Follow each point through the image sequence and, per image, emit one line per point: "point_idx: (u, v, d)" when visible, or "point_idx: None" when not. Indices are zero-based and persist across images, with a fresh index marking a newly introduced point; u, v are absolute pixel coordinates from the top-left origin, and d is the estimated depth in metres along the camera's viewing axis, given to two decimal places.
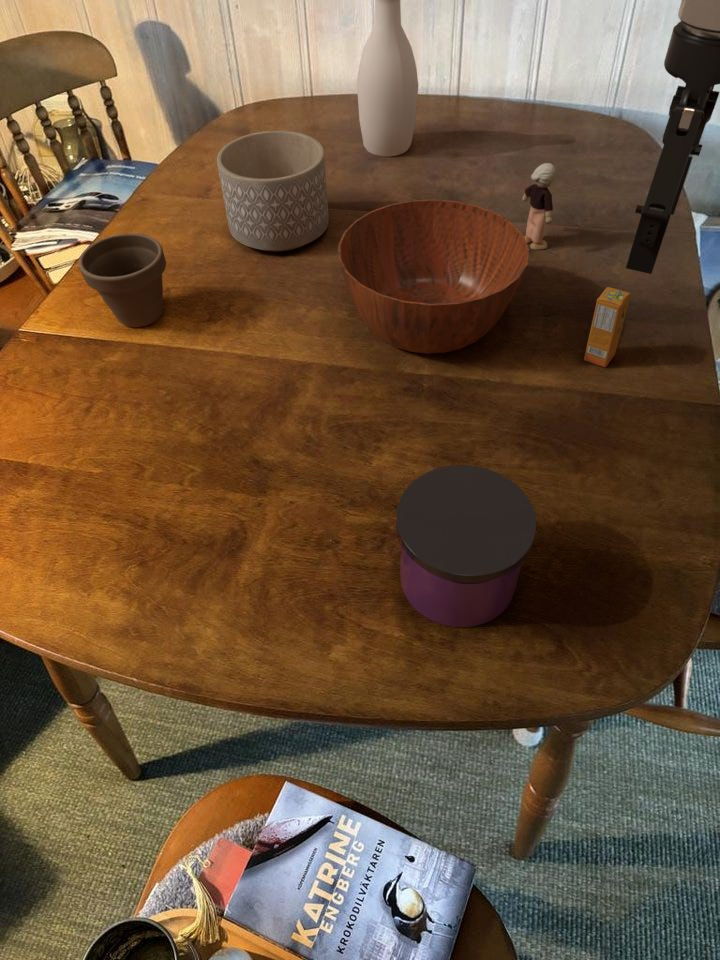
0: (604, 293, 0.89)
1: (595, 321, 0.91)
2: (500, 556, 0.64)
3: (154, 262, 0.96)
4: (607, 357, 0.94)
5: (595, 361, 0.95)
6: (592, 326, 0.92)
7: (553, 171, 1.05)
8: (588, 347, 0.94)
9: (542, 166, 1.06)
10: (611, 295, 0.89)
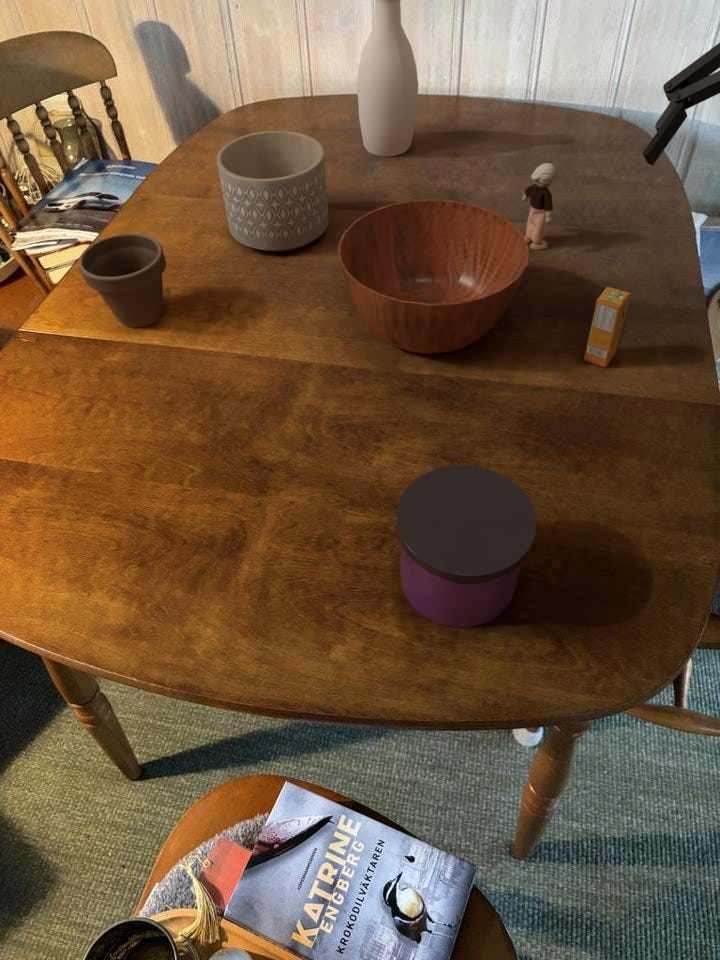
0: (604, 293, 0.89)
1: (595, 321, 0.91)
2: (500, 556, 0.64)
3: (154, 262, 0.96)
4: (607, 357, 0.94)
5: (595, 361, 0.95)
6: (592, 326, 0.92)
7: (553, 171, 1.05)
8: (588, 347, 0.94)
9: (542, 166, 1.06)
10: (611, 295, 0.89)
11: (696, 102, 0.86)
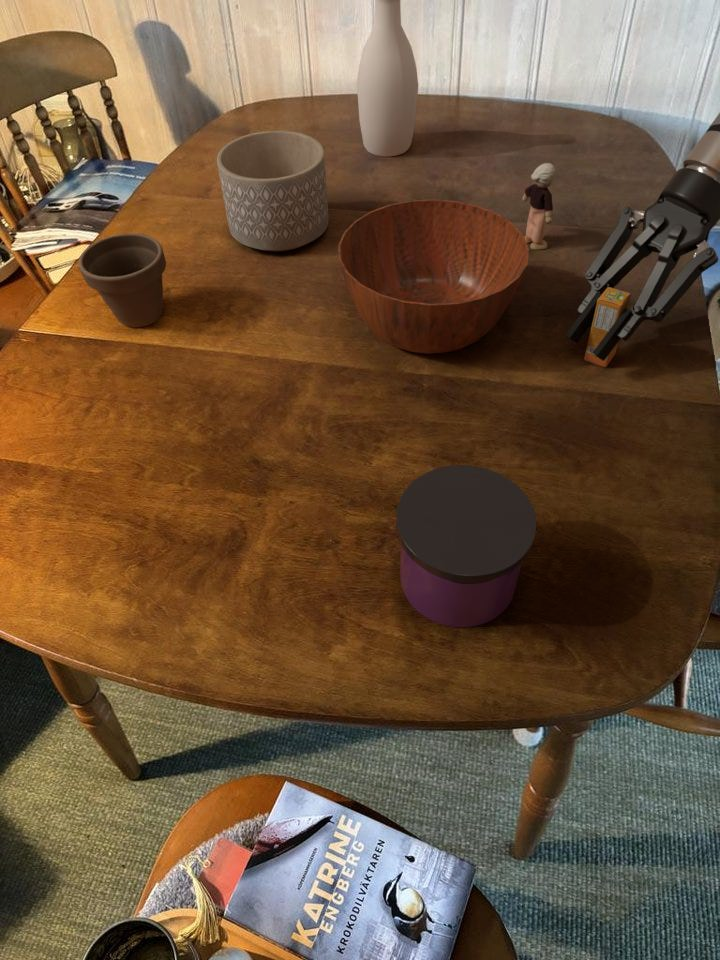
0: (604, 294, 0.89)
1: (595, 321, 0.91)
2: (500, 556, 0.64)
3: (154, 262, 0.96)
4: (607, 357, 0.94)
5: (596, 361, 0.95)
6: (592, 326, 0.92)
7: (553, 171, 1.05)
8: (588, 347, 0.94)
9: (542, 166, 1.06)
10: (611, 295, 0.89)
11: (615, 284, 0.92)
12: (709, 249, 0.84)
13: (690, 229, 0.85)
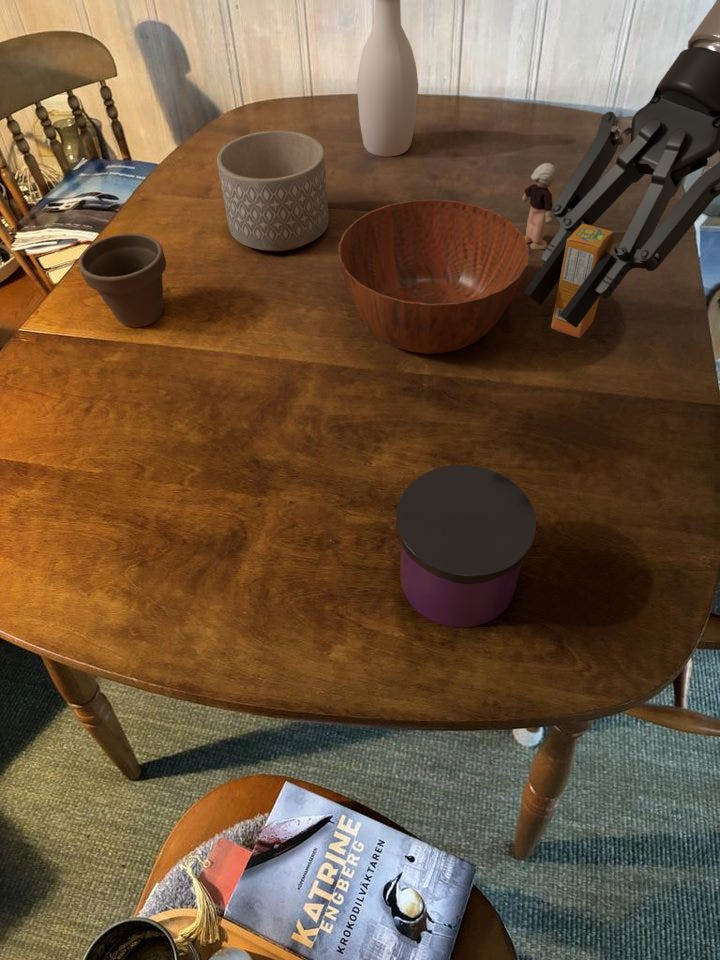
0: (577, 232, 0.64)
1: (565, 272, 0.66)
2: (500, 556, 0.64)
3: (154, 262, 0.96)
4: (582, 323, 0.68)
5: (566, 330, 0.70)
6: (561, 279, 0.66)
7: (553, 171, 1.05)
8: (556, 310, 0.69)
9: (542, 166, 1.06)
10: (587, 234, 0.63)
11: (593, 221, 0.66)
12: None
13: (697, 136, 0.60)
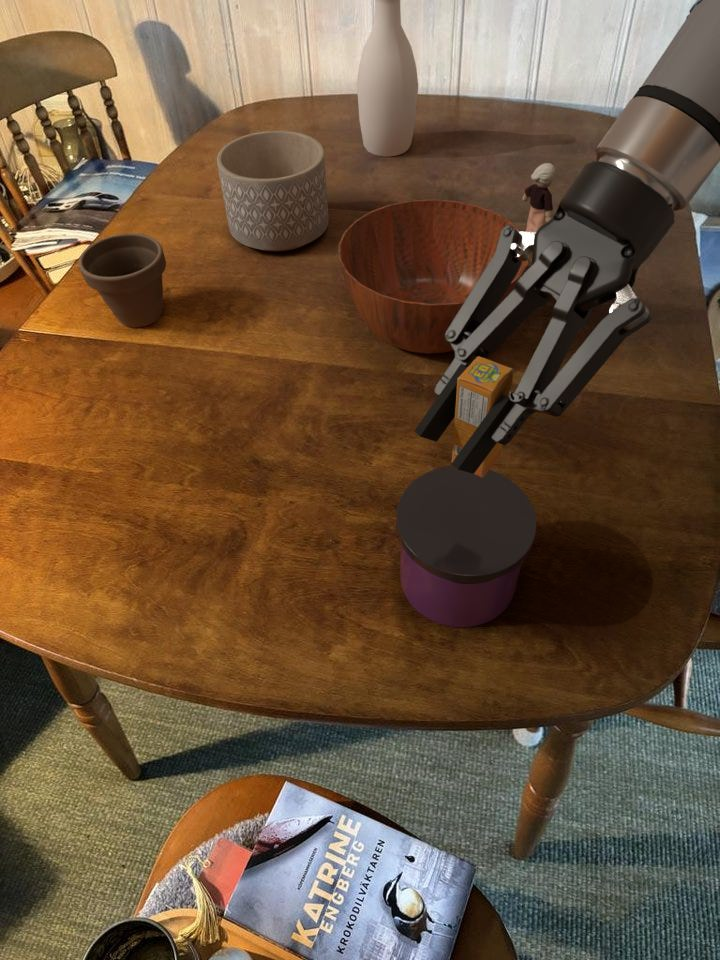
0: (470, 369, 0.54)
1: (459, 411, 0.56)
2: (500, 556, 0.64)
3: (154, 262, 0.96)
4: (483, 464, 0.59)
5: None
6: (456, 417, 0.57)
7: (553, 171, 1.05)
8: (455, 447, 0.59)
9: (542, 166, 1.06)
10: (481, 372, 0.54)
11: (493, 349, 0.57)
12: (634, 301, 0.49)
13: (604, 265, 0.50)
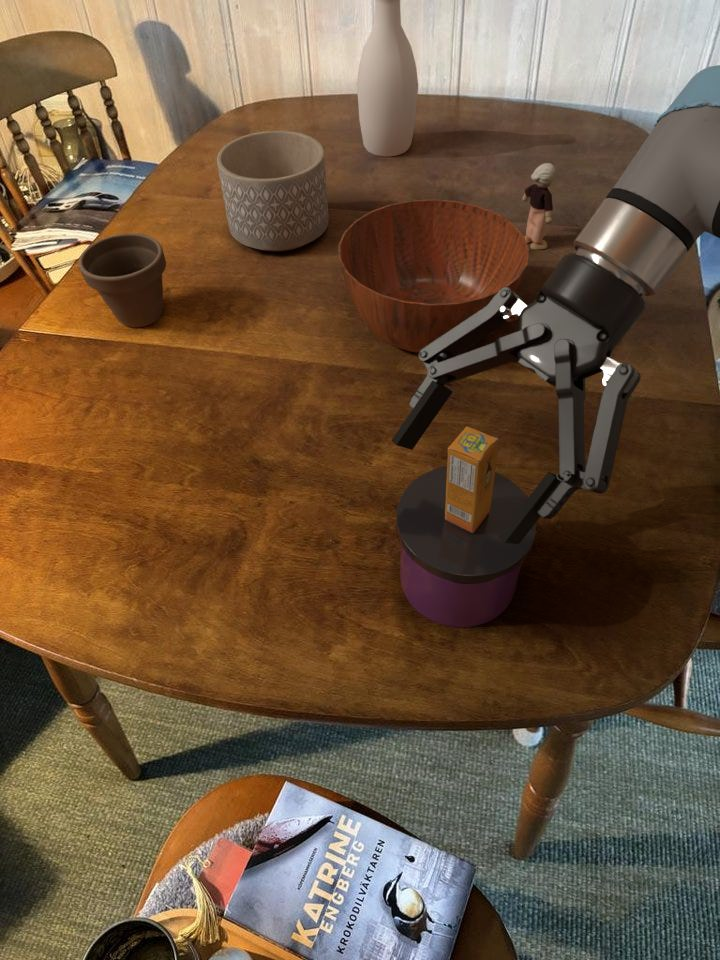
0: (459, 439, 0.60)
1: (450, 475, 0.62)
2: (500, 556, 0.64)
3: (154, 262, 0.96)
4: (473, 522, 0.64)
5: (459, 524, 0.66)
6: (447, 481, 0.63)
7: (553, 171, 1.05)
8: (447, 505, 0.65)
9: (542, 166, 1.06)
10: (469, 442, 0.60)
11: (461, 377, 0.64)
12: (622, 366, 0.53)
13: (579, 351, 0.56)
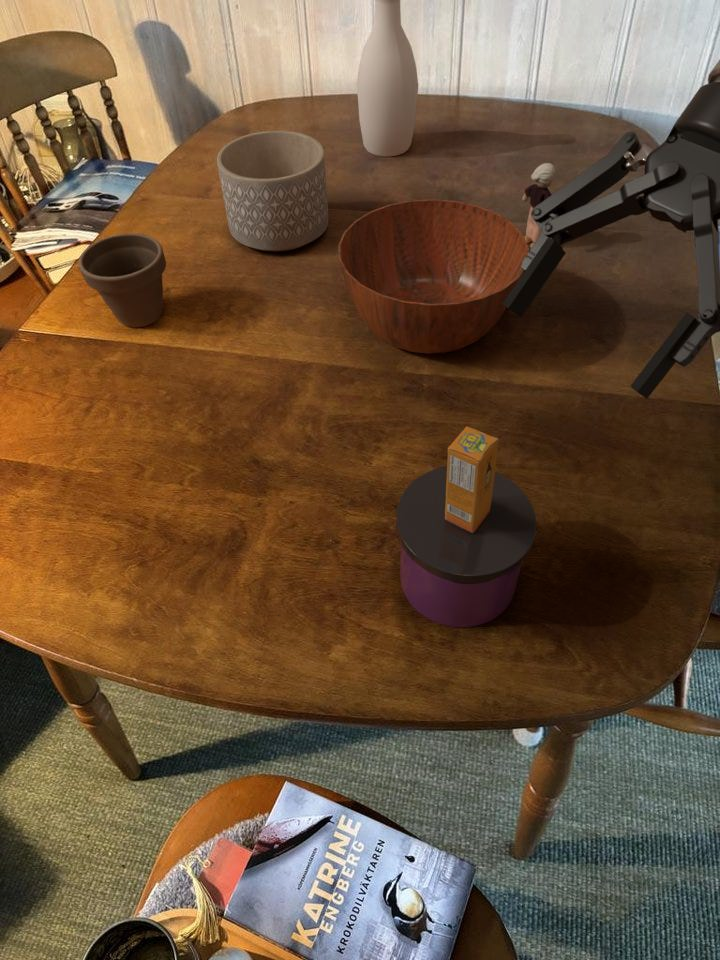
0: (459, 439, 0.60)
1: (450, 475, 0.62)
2: (500, 556, 0.64)
3: (154, 262, 0.96)
4: (473, 522, 0.64)
5: (459, 524, 0.66)
6: (447, 481, 0.63)
7: (553, 171, 1.05)
8: (447, 505, 0.65)
9: (542, 166, 1.06)
10: (469, 442, 0.60)
11: (577, 236, 0.61)
12: None
13: (718, 186, 0.53)
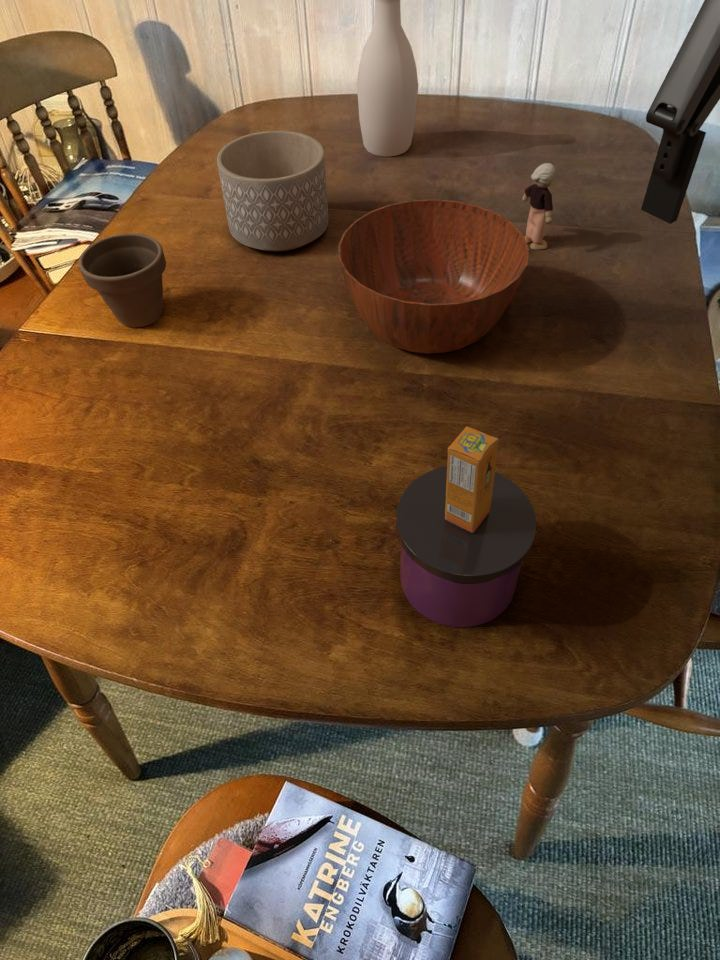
0: (459, 439, 0.60)
1: (450, 475, 0.62)
2: (500, 556, 0.64)
3: (154, 262, 0.96)
4: (473, 522, 0.64)
5: (459, 524, 0.66)
6: (447, 481, 0.63)
7: (553, 171, 1.05)
8: (447, 505, 0.65)
9: (542, 166, 1.06)
10: (469, 442, 0.60)
11: None
12: None
13: None
